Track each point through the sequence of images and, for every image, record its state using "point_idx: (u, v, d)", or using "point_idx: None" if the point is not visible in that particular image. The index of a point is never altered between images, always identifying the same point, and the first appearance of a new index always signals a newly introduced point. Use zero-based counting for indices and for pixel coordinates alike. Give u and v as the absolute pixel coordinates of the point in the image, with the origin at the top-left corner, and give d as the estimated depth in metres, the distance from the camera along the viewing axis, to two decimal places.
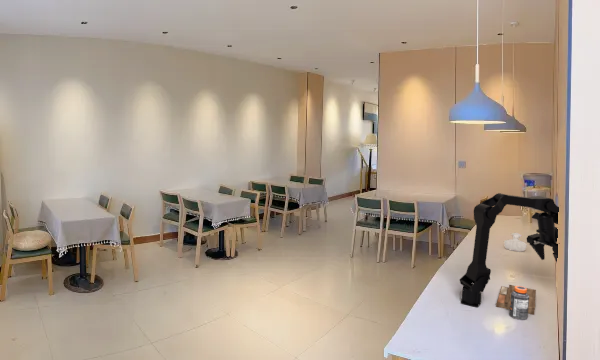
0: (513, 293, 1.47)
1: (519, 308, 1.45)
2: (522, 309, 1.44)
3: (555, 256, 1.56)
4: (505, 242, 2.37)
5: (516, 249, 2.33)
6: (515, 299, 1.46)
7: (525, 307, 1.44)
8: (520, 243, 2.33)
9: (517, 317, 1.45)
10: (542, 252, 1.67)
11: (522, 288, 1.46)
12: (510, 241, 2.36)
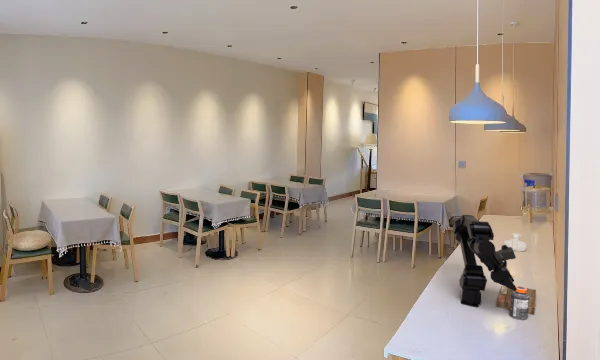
0: (513, 293, 1.47)
1: (519, 308, 1.45)
2: (522, 309, 1.44)
3: None
4: (505, 242, 2.37)
5: (516, 249, 2.33)
6: (515, 299, 1.46)
7: (525, 307, 1.44)
8: (520, 243, 2.33)
9: (517, 317, 1.45)
10: None
11: (522, 288, 1.46)
12: (510, 241, 2.36)
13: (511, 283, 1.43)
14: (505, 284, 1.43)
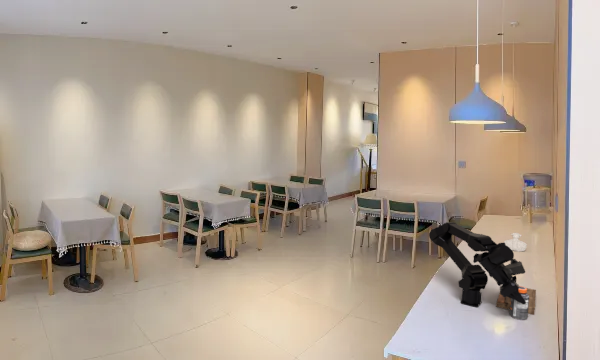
0: None
1: (519, 308, 1.45)
2: (522, 309, 1.44)
3: None
4: (505, 242, 2.37)
5: (516, 249, 2.33)
6: None
7: (525, 307, 1.44)
8: (520, 243, 2.33)
9: (517, 317, 1.45)
10: None
11: (522, 288, 1.46)
12: (510, 241, 2.36)
13: (520, 296, 1.43)
14: (514, 297, 1.44)
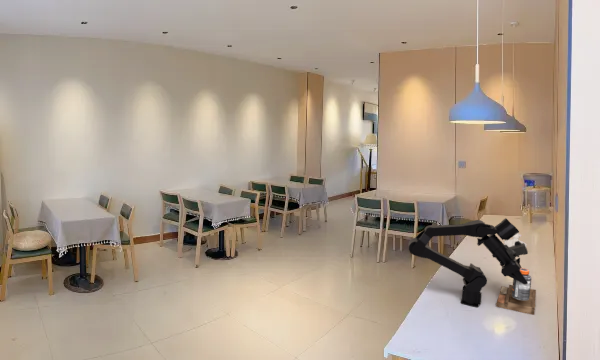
0: None
1: (521, 288, 1.49)
2: (524, 290, 1.48)
3: None
4: (505, 242, 2.37)
5: None
6: None
7: (527, 288, 1.48)
8: None
9: (518, 297, 1.49)
10: None
11: (524, 270, 1.50)
12: (510, 241, 2.36)
13: (522, 277, 1.47)
14: (516, 277, 1.48)
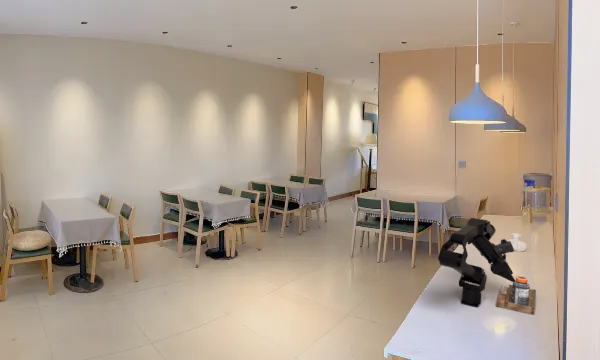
0: (514, 283, 1.56)
1: (520, 297, 1.54)
2: (523, 298, 1.53)
3: None
4: None
5: (516, 249, 2.33)
6: (516, 288, 1.54)
7: (526, 295, 1.53)
8: (520, 243, 2.33)
9: None
10: None
11: (523, 278, 1.55)
12: None
13: (510, 275, 1.51)
14: (504, 276, 1.52)
